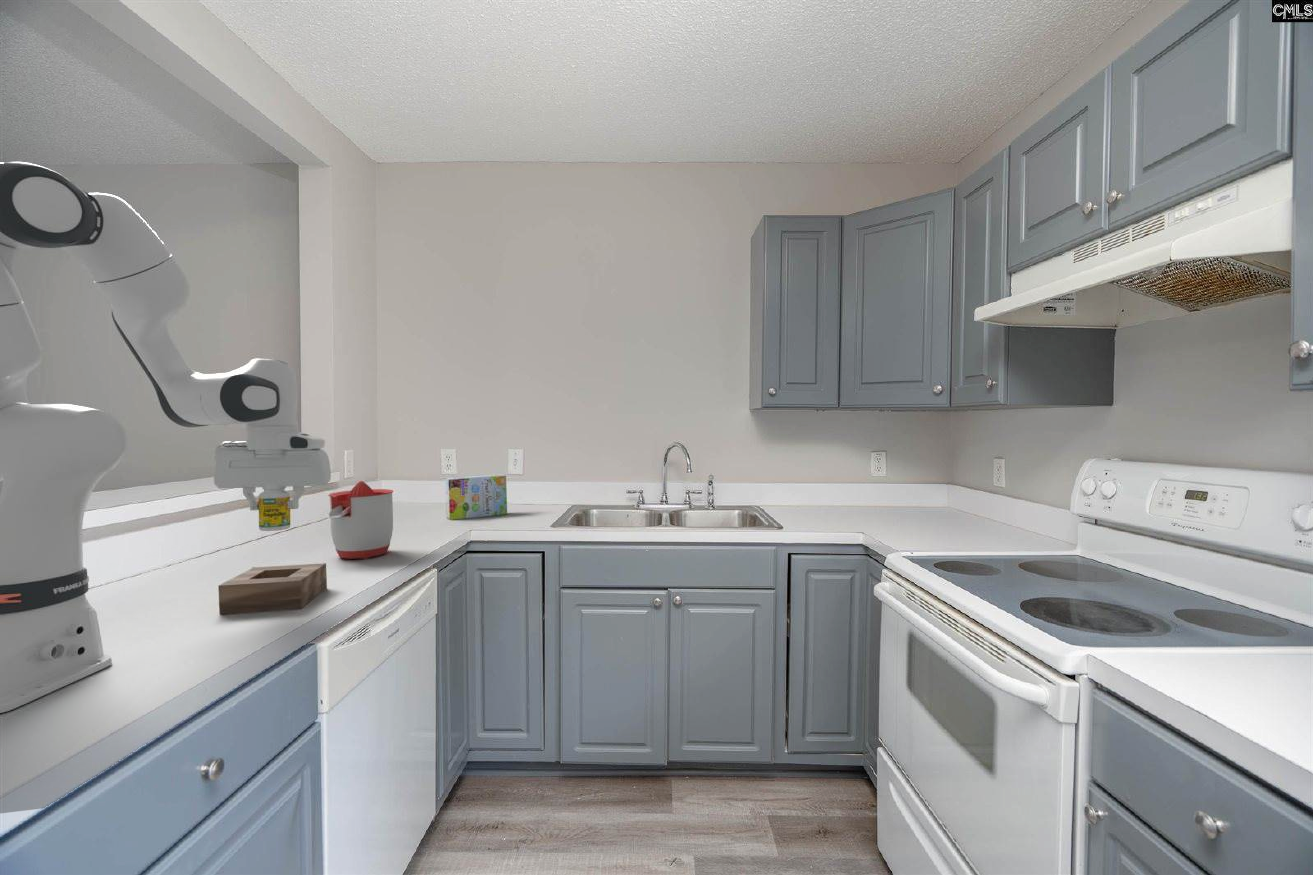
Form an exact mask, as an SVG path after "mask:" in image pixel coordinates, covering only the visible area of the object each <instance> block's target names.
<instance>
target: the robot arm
mask: <svg viewBox="0 0 1313 875" xmlns="http://www.w3.org/2000/svg"><path fill="white" fill-rule="evenodd" d="M57 248H58V249H59V248H60V249H62V250H63V251H65V252H67V253H68V254H69V255H70V256H72V257H73V258H74V259H75V260H76V261H77V262H78V263H79V264H80V265H81V266H82V268H83V269H84V271H85V272H86V273H87V275H88V276H89V278H90V279H91V280H92V281H93V282H94V284H95V285H96V286H97V288H98V289H99V290H100V291H101V293H102V295H103V296H104V298H105V300H107V302H108V304H109V306H110V308H111V318H112V321H113V323H114V325H115V328H116V329H117V331H118V333H119V334H120V336H121V338H122V339H123V341H124V342H125V344H126V346H127V347H128V349H129V350H130V352H131V353H132V355H133V356H134V358H135V360H136V361H137V362H138V364H139V365H140V366H141V369H142V370H143V371H144V373H145V375H146V376H147V377H148V379H149V380H150V382H151V384H152V386H153V387H154V390H155V393H156V395H157V398H158V401H159V404H160V408H161V409H162V411H163V413H164V414H165V416H166V417H167V418H168V419H170V421H172V422H173V423H174V424H177V425H178V426H181V427H184V428H198V427H206V426H222V425H223V426H227V425H241V424H246V425H245V426H246V427H245V428H246V429H245V430H246V431H245V433H246V435H245V436H246V441H245V440H243V441H223V442H222V443H221V444H218V445H217V446H216V448H215V450H214V459H215V467H214V472H213V473H214V474H213V483H214V485H215V487H216V488H218V489H242V494H243V496H244V497H245V498H246V500H247V501H248V502H249V510H250V511H259V500H258V498H256V496H255V495H254V493H256V491H257V490H256V488H262V487H264V486H265V484H266V483H267V482H274V484H275V485H276V486H277V487H286V488H288V487H292V492H293V493H295V494H294V495H293V497H292V499H290V500H288V501H287V504H288V506H287V508H288V509H290V510H297V509H299V500H300V499H301V497H302V496H303V494H304V492H305V487H317V486H320V487H321V486H326V485H328V484H329V482H330V481H331V479H332V478H331V476H332V473H331V464H330V459H329V455H328V453H327V452H326V450H324V447H325V445H326V443H325V439H323V438H322V437H318V436H315V435H311V434H307V433H304V432H300V431H299V421H298V419H297V409H298V407H299V406H298V405H299V399H298V397H299V394H298V393H299V392H298V383H297V376H296V374H295V371H294V369H293V367H292V366H291V365H290V364H289V363H287V362H284V361H282V360H277V359H271V358H263V357H262V358H260V357H259V358H258V357H257V358H252V359H250V360H249V362H247V364H245V365H243V366H241V367H239V368H236V369H234V370H233V369H232V370H229V371H228V372H219V373H201V372H198V371H196V370H194V369H193V368H191V367H190V366H189V364H187V362H186V361H185V359H184V357H183V355H182V354H181V352H180V350H179V348H178V347H177V345H176V344H175V341H173V339H172V337H171V335H170V334H169V330H168V323H169V321H170V320H171V319H172V318H174V317H175V316H176V315H178V314H179V313H180V312H181V311H182V310H183V309H184V308H185V306H186V305H187V303H188V301H189V298H190V293H191V286H190V283H189V281H188V279H187V276H186V275H185V272H184V271H183V269H182V267H181V266H180V265H179V263H178V262H177V260H176V259H175V258H174V256H173V255H172V253H171V251H170V250H169V249H168V248H167V246H166V245H165V243H164V242H163V241H162V239H161V238H160V237H159V236H158V235H157V233H156V232H155V231H154V229H152V227H151V226H150V225H149V224H148V222H146V221H145V220H144V219H143V218H142V216H141V215H140V214H139V213H138V212H136V211H135V209H134V208H133V207H132V206H131V205H130V204H129V203H127V202H126V201H125V200H124V199H122V198H120V197H119V196H116V195H113V194H111V193H102V192H101V193H100V192H89V193H88V192H87V191H85V190H84V189H82V188H80V187H78V186H77V185H76V184H75V183H73V182H72V181H71V180H69V178H66V177H65V176H64V175H62V174H60V173H58V172H57V171H55V170H52V169H50V168H48V167H44V166H42V165H39V164H35V163H30V162H23V161H7V162H1V161H0V482H3V484H2V489H1V492H0V714H1V713H6V712H10V711H11V710H15V709H16V708H19V707H21V706H23V705H25V704H28V703H30V702H32V701H34V700H37V699H39V698H42V697H43V696H45V695H48V694H50V693H52V692H54V691H58V690H59V689H61V688H63V687H65V686H68V685H70V684H72V683H74V682H77V681H79V680H81V679H83V678H85V677H88V676H89V675H93V674H94V673H96V672H98V671H101V670H103V669H105V668H107V667H110V666H112V665H113V661H112V660H113V659H112V657H111V656H110V655H106V654H104V648H103V641H102V637H101V630H100V624H99V619H98V613H97V610H95V608H93V606H92V605H91V604H90V603H89V601H88V598H87V597H86V594H87V593H88V591H89V581H90V579H89V574H88V569H87V567H84V557H83V553H84V552H83V526H84V525H83V524H84V516H85V511H86V508H87V506H88V501H89V500H90V497H91V496H92V493H93V491H94V489H95V488H96V486H97V485H98V483H99V482H100V481H101V479H103V477H104V476H105V475H107V474H108V473H109V472H110V471H112V470H113V469H115V467H116V466H118V465H119V464H120V462H121V461H122V459H123V458H124V456H125V454H126V450H127V446H128V438H127V434H126V430H125V429H124V427H123V425H122V423H121V422H120V420H118V418H116V417H115V416H114V415H113V413H112V414H111V413H109V411H106V410H102V409H98V408H93V407H88V406H84V405H77V404H76V405H75V404H71V403H70V404H69V403H41V404H39V403H37V404H33V403H32V404H31V403H30V401H29V400H28V397H27V396H28V395H27V380H28V379H27V378H28V375H29V373H31V372H32V371H34V370H35V369H36V368H37V367H38V366H39V365H40V364H41V363H42V360H43V359H44V358H43V357H44V351H43V348H42V345H41V343H40V341H39V338H38V335H37V333H36V330H35V327H34V325H33V322H32V320H31V318H30V315H29V312H28V309H27V308H26V304H25V302H24V301H23V298H22V295H21V293H20V290H19V289H18V285H17V284H16V282H15V280H14V278H13V277H14V273H13V260H14V256H15V254H16V252H17V251H18V250H36V249H37V250H38V249H57Z"/></svg>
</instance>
